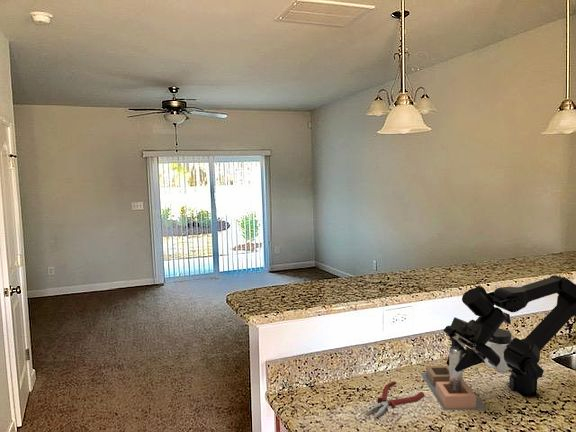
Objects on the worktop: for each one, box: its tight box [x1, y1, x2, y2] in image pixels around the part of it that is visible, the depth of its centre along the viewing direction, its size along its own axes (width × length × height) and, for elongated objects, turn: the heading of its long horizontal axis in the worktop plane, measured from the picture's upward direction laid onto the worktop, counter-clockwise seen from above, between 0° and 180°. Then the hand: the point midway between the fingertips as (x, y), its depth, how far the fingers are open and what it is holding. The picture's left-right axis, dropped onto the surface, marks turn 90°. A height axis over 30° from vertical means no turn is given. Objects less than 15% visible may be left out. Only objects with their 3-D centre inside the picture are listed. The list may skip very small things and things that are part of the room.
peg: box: [448, 345, 464, 391], centre depth 124 cm, size 4×4×12 cm
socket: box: [436, 380, 477, 409], centre depth 125 cm, size 8×8×4 cm
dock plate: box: [420, 365, 488, 411], centre depth 131 cm, size 12×22×4 cm, turn 179°
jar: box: [484, 327, 513, 373], centre depth 147 cm, size 9×8×12 cm
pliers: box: [365, 381, 425, 419], centre depth 126 cm, size 12×20×3 cm, turn 134°
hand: (451, 367), depth 124 cm, fingers closed on peg, 4 cm apart
